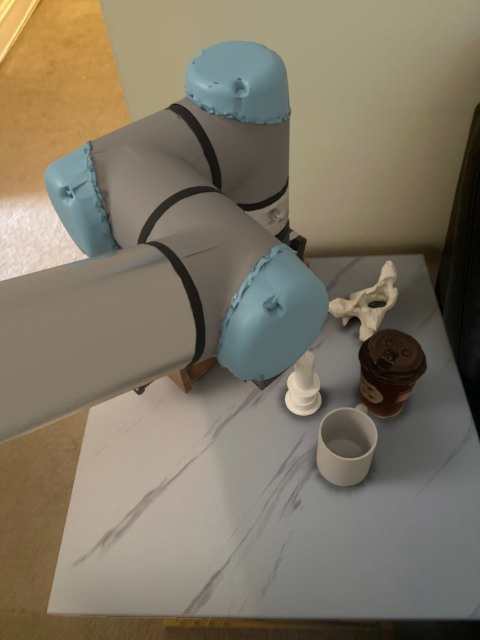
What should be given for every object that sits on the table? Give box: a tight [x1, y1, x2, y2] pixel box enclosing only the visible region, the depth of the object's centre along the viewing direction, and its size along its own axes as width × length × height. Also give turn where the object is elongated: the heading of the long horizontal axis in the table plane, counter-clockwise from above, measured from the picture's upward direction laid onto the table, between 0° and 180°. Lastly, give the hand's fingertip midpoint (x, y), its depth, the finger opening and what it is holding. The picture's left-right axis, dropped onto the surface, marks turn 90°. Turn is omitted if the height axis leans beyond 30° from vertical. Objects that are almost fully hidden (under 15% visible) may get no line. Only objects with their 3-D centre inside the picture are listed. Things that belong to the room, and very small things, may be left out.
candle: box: [284, 349, 323, 417], centre depth 78 cm, size 5×5×12 cm
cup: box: [316, 403, 379, 487], centre depth 74 cm, size 7×10×9 cm
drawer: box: [132, 357, 219, 396], centre depth 85 cm, size 20×10×8 cm, turn 133°
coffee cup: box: [357, 328, 428, 419], centre depth 77 cm, size 9×8×13 cm
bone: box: [328, 260, 399, 343], centre depth 89 cm, size 9×14×8 cm, turn 142°
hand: (259, 357), depth 70 cm, fingers closed on tray, 6 cm apart
